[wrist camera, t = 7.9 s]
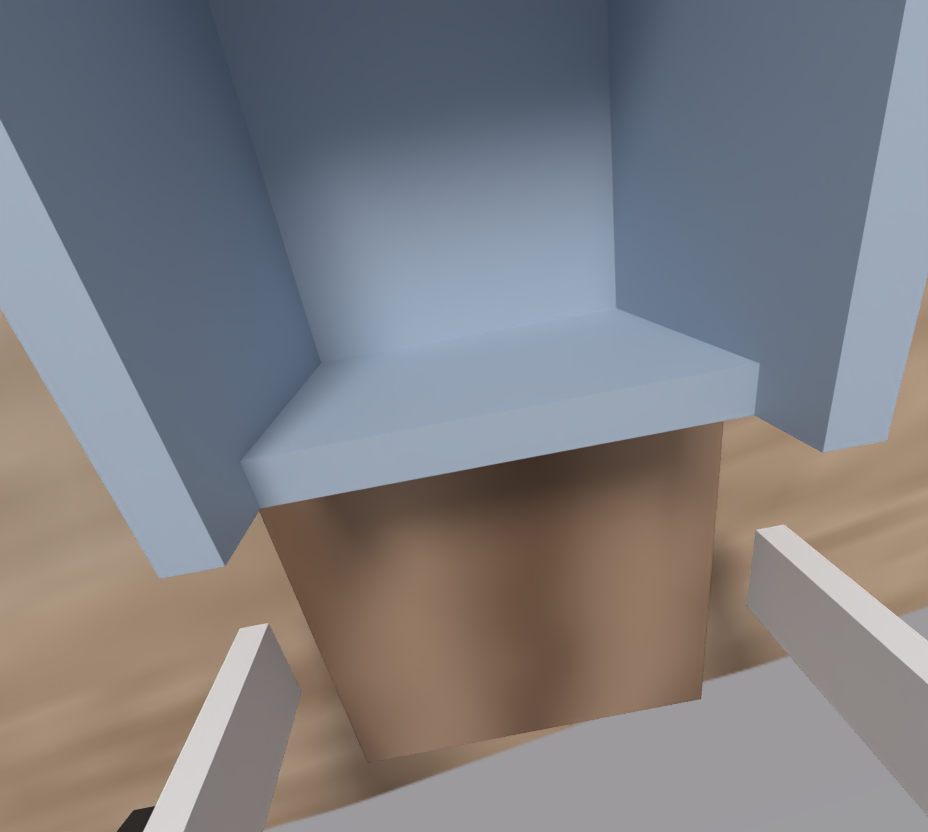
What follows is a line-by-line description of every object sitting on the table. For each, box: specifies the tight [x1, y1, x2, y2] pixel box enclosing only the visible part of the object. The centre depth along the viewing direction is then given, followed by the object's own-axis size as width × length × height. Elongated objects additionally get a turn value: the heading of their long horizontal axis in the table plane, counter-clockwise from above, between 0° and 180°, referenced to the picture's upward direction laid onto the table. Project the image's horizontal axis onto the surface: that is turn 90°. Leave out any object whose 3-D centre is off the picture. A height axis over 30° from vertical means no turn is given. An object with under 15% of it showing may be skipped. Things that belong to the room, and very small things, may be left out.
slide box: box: [0, 0, 928, 579], centre depth 6 cm, size 9×11×7 cm
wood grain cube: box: [259, 421, 724, 763], centre depth 13 cm, size 11×11×3 cm
